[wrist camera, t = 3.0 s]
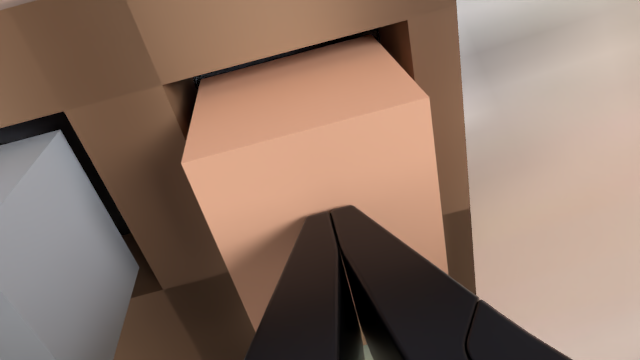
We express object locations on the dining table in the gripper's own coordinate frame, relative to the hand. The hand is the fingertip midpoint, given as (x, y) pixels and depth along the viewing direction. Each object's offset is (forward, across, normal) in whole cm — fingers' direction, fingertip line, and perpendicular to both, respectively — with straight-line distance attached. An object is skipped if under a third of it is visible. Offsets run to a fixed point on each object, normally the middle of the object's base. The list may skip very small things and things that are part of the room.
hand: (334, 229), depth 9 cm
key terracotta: (+4, 0, 0) cm, 4 cm away
